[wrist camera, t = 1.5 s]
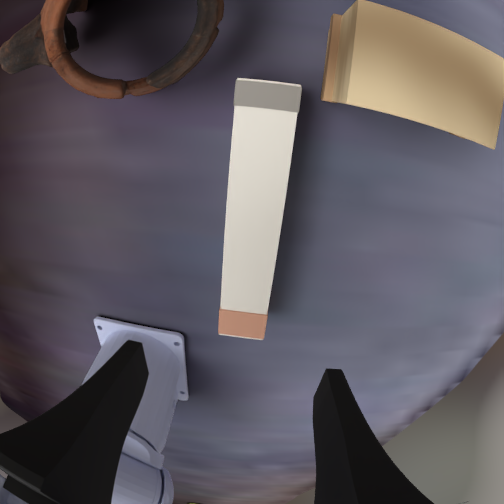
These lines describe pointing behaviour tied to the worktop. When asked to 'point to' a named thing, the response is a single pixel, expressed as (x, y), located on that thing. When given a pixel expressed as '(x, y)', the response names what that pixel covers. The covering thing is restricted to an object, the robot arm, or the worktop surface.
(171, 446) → the worktop surface
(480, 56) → the tan wooden brick
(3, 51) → the pottery mug
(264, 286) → the white bar
